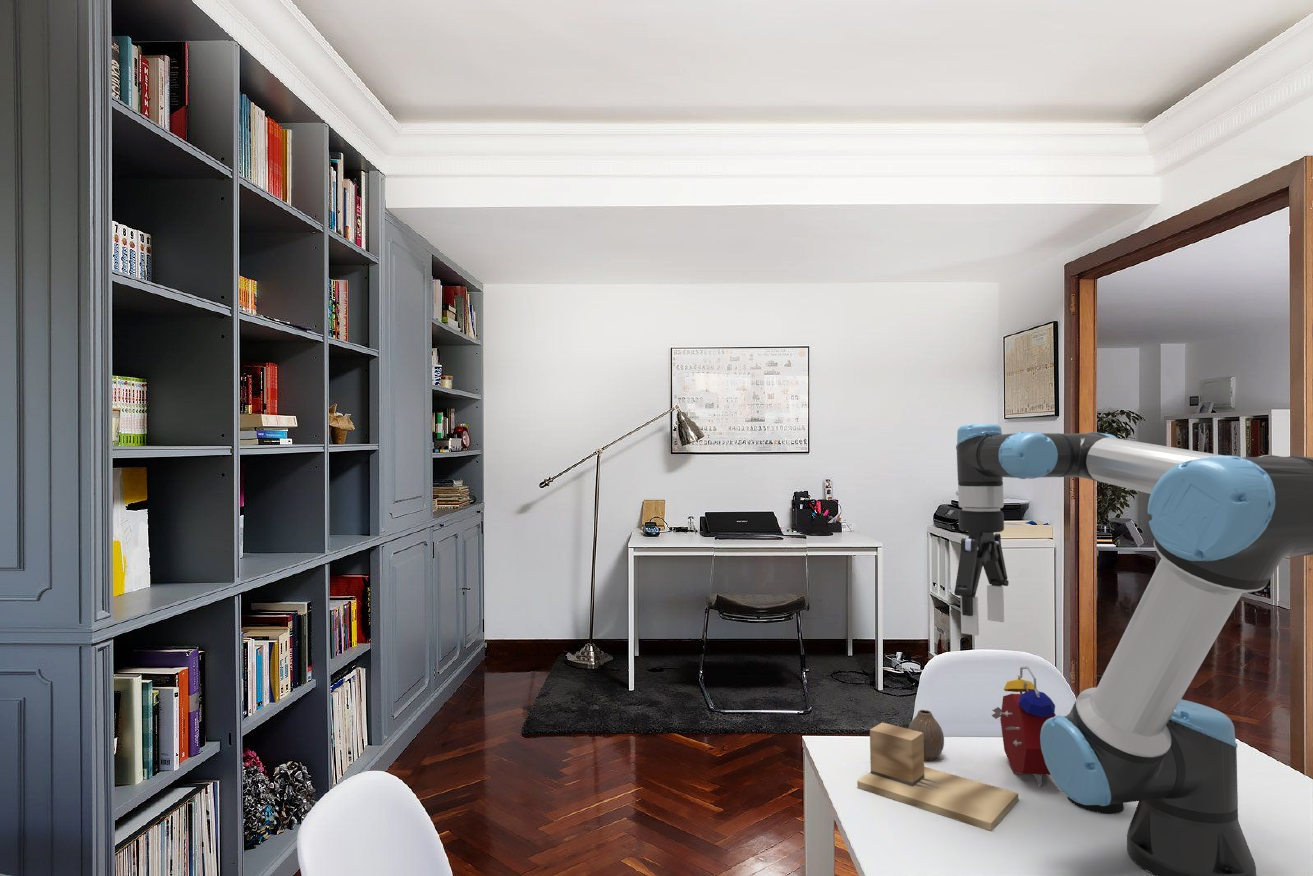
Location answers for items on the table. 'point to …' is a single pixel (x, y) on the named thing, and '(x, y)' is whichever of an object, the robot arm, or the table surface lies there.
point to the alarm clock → (1024, 726)
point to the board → (947, 796)
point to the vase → (929, 733)
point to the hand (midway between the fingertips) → (983, 627)
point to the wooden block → (897, 753)
